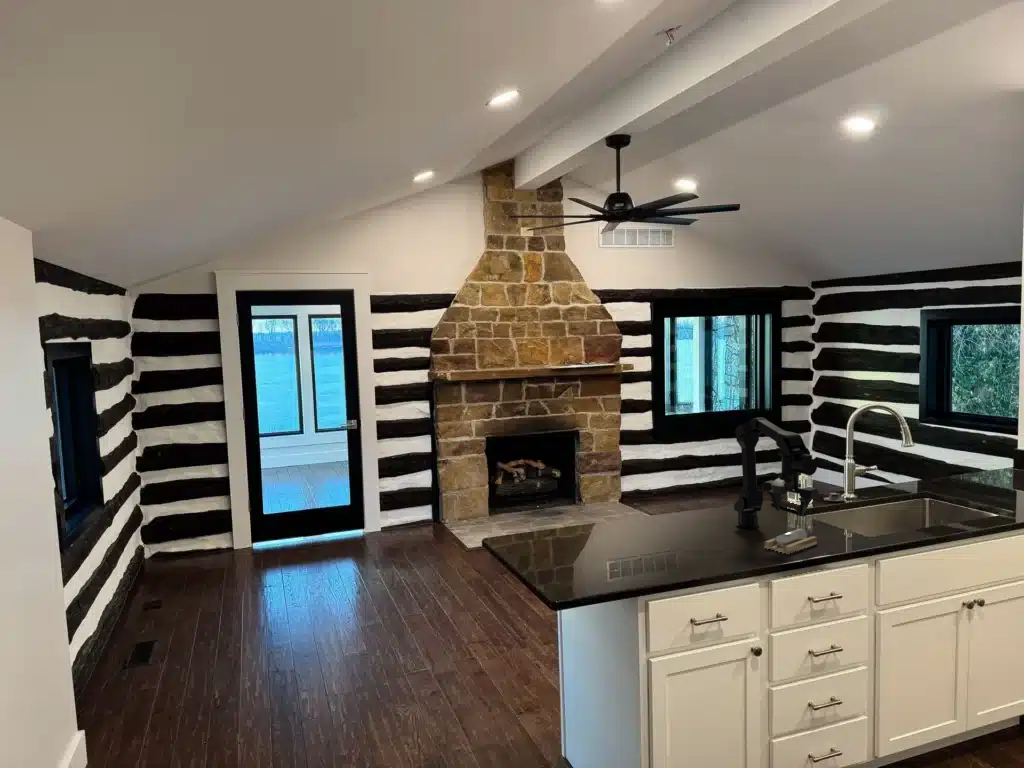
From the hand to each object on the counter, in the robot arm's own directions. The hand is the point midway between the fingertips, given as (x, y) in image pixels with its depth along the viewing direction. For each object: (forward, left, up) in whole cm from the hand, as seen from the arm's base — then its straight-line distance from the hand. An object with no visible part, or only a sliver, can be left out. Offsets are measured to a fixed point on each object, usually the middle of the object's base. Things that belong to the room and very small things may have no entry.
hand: (789, 513), depth 257 cm
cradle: (+1, -1, -11) cm, 11 cm away
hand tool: (-28, +43, -12) cm, 53 cm away
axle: (+1, -1, -10) cm, 10 cm away
